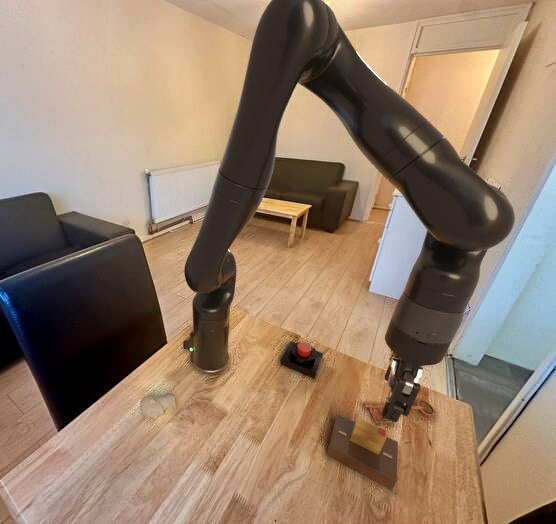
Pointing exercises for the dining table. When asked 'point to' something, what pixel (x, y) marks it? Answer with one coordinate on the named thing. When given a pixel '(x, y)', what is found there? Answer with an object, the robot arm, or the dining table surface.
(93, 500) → the dining table surface
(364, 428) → the lock knob
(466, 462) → the dining table surface
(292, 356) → the alarm box
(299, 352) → the alarm button
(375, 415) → the key
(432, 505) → the dining table surface
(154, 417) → the pale grey lumpy piece
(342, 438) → the lock plate
